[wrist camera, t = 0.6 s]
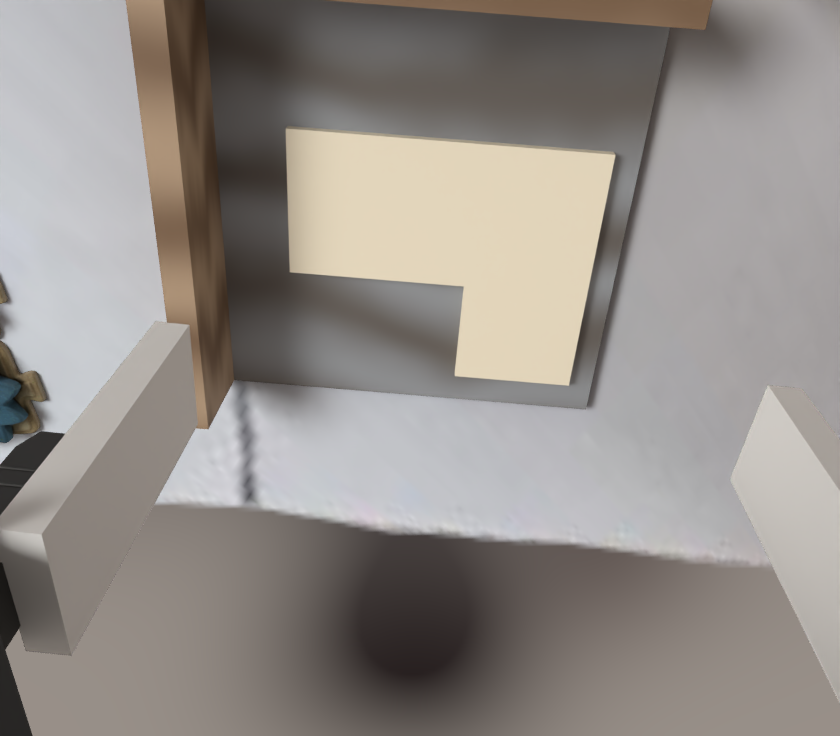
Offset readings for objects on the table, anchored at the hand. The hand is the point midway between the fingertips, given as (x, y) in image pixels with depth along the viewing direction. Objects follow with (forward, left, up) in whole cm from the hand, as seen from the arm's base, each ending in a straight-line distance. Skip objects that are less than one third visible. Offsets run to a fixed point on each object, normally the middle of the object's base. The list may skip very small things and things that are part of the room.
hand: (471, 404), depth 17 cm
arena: (+4, -3, -25) cm, 25 cm away
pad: (+7, -1, -24) cm, 25 cm away
